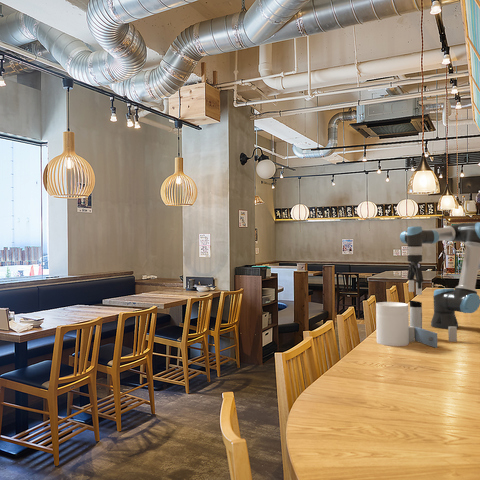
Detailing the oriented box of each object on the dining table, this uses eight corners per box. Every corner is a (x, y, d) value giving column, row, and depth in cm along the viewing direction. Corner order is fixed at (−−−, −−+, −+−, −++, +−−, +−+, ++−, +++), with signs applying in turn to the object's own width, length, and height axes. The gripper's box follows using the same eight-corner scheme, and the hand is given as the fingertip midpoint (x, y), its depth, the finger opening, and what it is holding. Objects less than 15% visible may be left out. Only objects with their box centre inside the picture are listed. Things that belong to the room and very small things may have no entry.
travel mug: (407, 335, 246) (407, 299, 246) (418, 335, 247) (418, 299, 247) (412, 338, 240) (412, 301, 240) (424, 337, 241) (424, 301, 241)
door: (437, 347, 218) (437, 332, 218) (432, 347, 217) (432, 333, 217) (416, 340, 235) (416, 326, 235) (411, 340, 234) (411, 326, 234)
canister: (413, 342, 231) (413, 303, 231) (401, 347, 220) (400, 307, 220) (384, 337, 242) (384, 301, 242) (371, 343, 230) (370, 304, 231)
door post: (412, 340, 235) (412, 326, 235) (414, 341, 232) (414, 327, 232) (406, 340, 236) (406, 326, 236) (408, 341, 233) (408, 327, 233)
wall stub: (455, 340, 233) (455, 326, 233) (456, 341, 231) (456, 327, 231) (448, 340, 233) (448, 326, 233) (449, 341, 231) (449, 327, 231)
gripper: (401, 253, 256) (401, 290, 256) (414, 255, 231) (415, 295, 231) (414, 253, 256) (415, 290, 256) (429, 255, 231) (429, 296, 231)
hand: (415, 293), depth 243 cm, fingers open, 13 cm apart
